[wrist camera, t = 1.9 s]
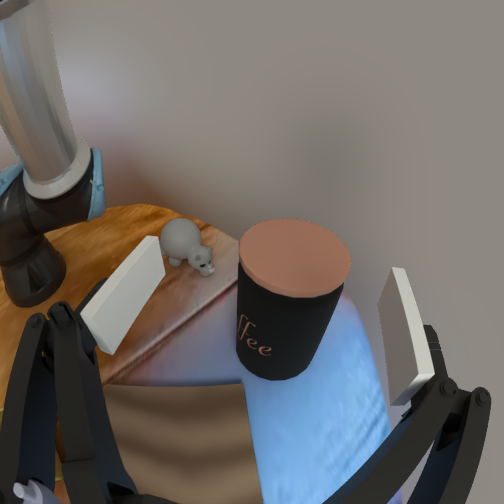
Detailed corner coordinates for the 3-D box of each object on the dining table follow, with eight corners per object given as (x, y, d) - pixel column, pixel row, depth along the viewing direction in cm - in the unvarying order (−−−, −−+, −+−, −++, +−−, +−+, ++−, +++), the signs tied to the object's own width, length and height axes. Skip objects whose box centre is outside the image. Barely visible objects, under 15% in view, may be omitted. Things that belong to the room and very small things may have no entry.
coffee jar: (231, 324, 40) (231, 220, 28) (300, 316, 41) (326, 216, 30) (242, 390, 31) (249, 298, 20) (321, 376, 33) (371, 283, 22)
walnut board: (109, 387, 29) (106, 383, 29) (243, 386, 32) (243, 383, 31) (106, 511, 16) (102, 511, 15) (265, 517, 18) (266, 518, 17)
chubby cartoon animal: (193, 297, 47) (202, 273, 40) (150, 250, 49) (153, 221, 42) (220, 275, 51) (233, 249, 45) (179, 232, 53) (186, 203, 47)
